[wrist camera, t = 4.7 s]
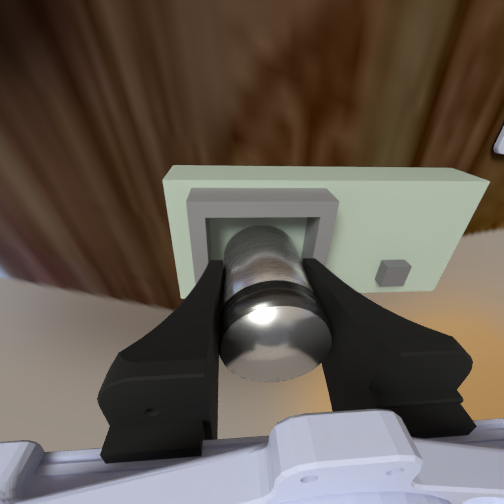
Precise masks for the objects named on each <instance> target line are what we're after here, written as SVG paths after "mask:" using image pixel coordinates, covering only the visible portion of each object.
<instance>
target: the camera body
mask: <svg viewBox="0 0 504 504" xmlns="http://www.w3.org/2000/svg"><path fill="white" fill-rule="evenodd" d="M489 183H490V181H487V180H485V179H482V178H479V177H476V176H473V175H470V174H467V173H465V172H462V171H459V170H456V169H453V168H409V167H300V166H192V165H173V166H172V168H171V169H170V170H169V172H168V173H167V174H166V176H165V177H164V179H163V186H164V193H165V199H166V205H167V212H168V218H169V225H170V231H171V237H172V244H173V250H174V256H175V263H176V269H177V276H178V282H179V288H180V295H181V299H183V298H186V297H187V296H188V294H189V293H190V292H191V291H192V289H193V288H194V286H195V285H196V284H197V282H198V280H199V279H200V277H201V276H202V274H203V272H204V271H205V269H206V267H207V265H208V262H209V261H210V260H223V259H224V250H225V247H226V245H227V243H228V242H229V240H230V239H231V238H232V237H233V236H234V235H235V234H236V233H238V232H239V231H241V230H243V229H245V228H247V227H251V226H255V225H269V226H273V227H276V228H279V229H281V230H282V231H284V232H285V233H286V234H287V235H288V236H289V237H290V238H291V239H292V241H293V243H294V246H295V248H296V251H297V253H298V255H299V258H300V260H301V263H302V262H303V258H315V259H317V260H318V261H319V262H320V263H322V264H323V265H324V266H325V267H326V268H327V269H329V270H330V271H331V272H332V273H333V274H335V275H336V276H337V277H338V278H339V279H341V280H342V281H343V282H345V283H346V284H347V285H349V286H350V287H351V288H353V289H354V290H356V291H357V292H358V293H374V292H376V293H377V292H409V291H434V289H435V287H436V284H437V283H438V281H439V279H440V277H441V275H442V273H443V271H444V269H445V267H446V265H447V264H448V262H449V260H450V258H451V256H452V254H453V252H454V250H455V248H456V246H457V244H458V242H459V241H460V239H461V237H462V235H463V233H464V231H465V229H466V227H467V225H468V223H469V221H470V219H471V217H472V216H473V214H474V212H475V210H476V208H477V206H478V204H479V202H480V200H481V198H482V196H483V194H484V192H485V191H486V189H487V187H488V185H489Z"/></svg>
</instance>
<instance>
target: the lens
mask: <svg viewBox="0 0 504 504" xmlns="http://www.w3.org/2000/svg"><path fill="white" fill-rule="evenodd" d="M332 337H333V334H332V329H331V326H330V324H329V322H328V319H327V317H326V314H325V312H324V310H323V307H322V305H321V302H320V300H319V299H318V297H317V296H316V295H315V294H314V292H313V290H312V287H311V285H310V282H309V280H308V277H307V275H306V273H305V270H304V268H303V265H302V263H301V260H300V258H299V255H298V253H297V251H296V248H295V246H294V243H293V241H292V239H291V238H290V237H289V236H288V235H287V234H286V233H285V232H284V231H282V230H281V229H279V228H276V227H273V226H269V225H255V226H251V227H247V228H245V229H243V230H241V231H239V232H238V233H236V234H235V235H234V236H233V237H232V238H231V239H230V240H229V242H228V243H227V245H226V247H225V250H224V259H223V291H222V310H221V312H220V316H219V333H218V352H219V355H220V358H221V359H222V361H223V363H224V364H225V366H226V367H227V368H228V369H229V370H230V371H231V372H232V373H234V374H236V375H237V376H240V377H242V378H244V379H247V380H251V381H258V382H279V381H285V380H289V379H293V378H296V377H299V376H301V375H304V374H306V373H308V372H309V371H311V370H313V369H314V368H315V367H317V366H318V365H319V364H320V363H321V362H322V361H323V360H324V359H325V358H326V356H327V355H328V353H329V351H330V349H331V344H332Z"/></svg>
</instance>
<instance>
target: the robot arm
mask: <svg viewBox="0 0 504 504" xmlns="http://www.w3.org/2000/svg"><path fill="white" fill-rule="evenodd" d="M493 149H494V152H495V153H499V154H504V126H503V128H502V130H501V133H500V135H499V137H498V139H497V141H496V143H495V145H494V148H493ZM302 265H303V268H304V270H305V273H306V275H307V277H308V280H309V282H310V285H311V287H312V290H313V292H314V294H315V295H316V296H317V297H318V299H319V300H320V302H321V305H322V307H323V310H324V312H325V314H326V317H327V319H328V322H329V324H330V326H331V329H332V334H333V337H332V344H331V349H330V351H329V353H328V355H327V356H326V358H325V359H324V360H323V361H322V362H321V363H322V367H323V371H324V375H325V379H326V383H327V387H328V392H329V396H330V401H331V405H332V410H333V412H322V413H306V414H300V415H295V416H291V417H288V418H286V419H284V420H282V421H280V422H278V423H277V424H276V425H275V427H274V428H273V430H272V432H271V433H270V435H269V436H258V437H245V438H231V439H217V426H218V424H217V422H218V369H219V352H218V333H219V316H220V312H221V310H222V291H223V260H210V261H209V262H208V265H207V267H206V269H205V271H204V272H203V274H202V276H201V277H200V279H199V280H198V282H197V284H196V285H195V286H194V288H193V289H192V291H191V292H190V293H189V294H188V296H187V297H186V298H185V299H184V301H183V302H182V303H181V304H180V305H179V306H178V307H177V308H176V309H175V310H174V311H173V312H172V313H171V315H169V316H168V317H167V318H166V319H165V320H164V321H163V322H162V323H161V324H159V325H158V326H157V327H156V328H154V329H153V330H152V331H151V332H149V333H148V334H147V335H145V336H144V337H143V338H141V339H140V340H138V341H136V342H135V343H133V344H132V345H130V346H129V347H127V348H126V349H124V350H122V351H121V352H119V353H118V355H117V357H116V358H115V360H114V362H113V363H112V365H111V367H110V369H109V371H108V373H107V375H106V378H105V380H104V382H103V384H102V387H101V389H100V391H99V394H98V398H97V400H98V404H99V406H100V408H101V410H102V412H103V414H104V416H105V418H106V419H107V421H108V423H109V425H110V427H109V431H108V433H107V436H106V439H105V442H104V444H103V447H102V448H95V449H82V450H68V451H55V452H44V450H43V448H42V447H41V445H40V444H38V443H36V442H34V441H28V440H27V441H26V440H22V441H7V442H0V504H504V418H500V419H487V420H472V419H471V418H470V416H469V415H468V414H467V412H466V411H465V409H464V408H463V407H462V405H461V404H460V403H462V402H463V398H462V396H461V395H460V394H459V392H458V391H457V389H458V387H459V386H460V385H461V383H462V382H463V381H464V380H465V378H466V377H467V376H468V374H469V373H470V371H471V369H472V364H473V361H472V359H471V356H470V355H469V354H468V353H467V352H466V351H465V350H464V349H463V348H462V346H461V345H460V344H459V343H458V342H457V341H456V340H455V339H454V338H453V337H452V336H448V335H446V334H443V333H441V332H438V331H435V330H432V329H429V328H427V327H424V326H421V325H419V324H417V323H414V322H412V321H410V320H407V319H405V318H403V317H401V316H398V315H397V314H395V313H393V312H391V311H389V310H387V309H385V308H383V307H381V306H379V305H378V304H376V303H374V302H373V301H371V300H369V299H367V298H366V297H364V296H363V295H361V294H360V293H358V292H357V291H356V290H354V289H353V288H351V287H350V286H349V285H347V284H346V283H345V282H343V281H342V280H341V279H339V278H338V277H337V276H336V275H335V274H333V273H332V272H331V271H330V270H329V269H327V268H326V267H325V266H324V265H323V264H322V263H320V262H319V261H318V260H317V259H315V258H303V262H302Z"/></svg>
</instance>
